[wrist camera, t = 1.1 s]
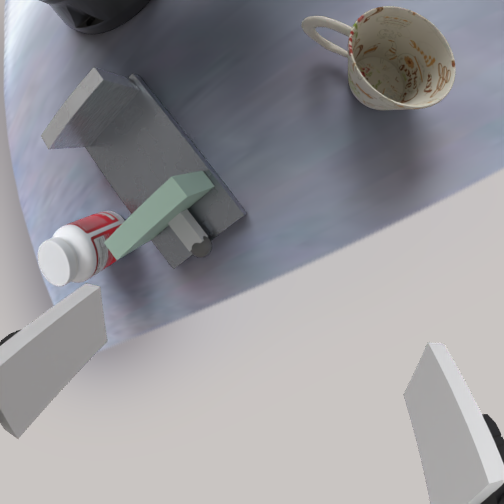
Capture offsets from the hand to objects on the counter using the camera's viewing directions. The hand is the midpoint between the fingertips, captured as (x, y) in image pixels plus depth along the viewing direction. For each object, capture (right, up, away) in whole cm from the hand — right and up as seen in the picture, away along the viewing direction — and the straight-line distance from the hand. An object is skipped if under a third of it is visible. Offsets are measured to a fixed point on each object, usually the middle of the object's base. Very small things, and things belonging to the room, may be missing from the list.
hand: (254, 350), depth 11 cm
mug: (+10, +21, +15) cm, 28 cm away
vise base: (-11, +13, +21) cm, 27 cm away
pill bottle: (-17, +6, +25) cm, 31 cm away
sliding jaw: (-6, +6, +21) cm, 22 cm away
